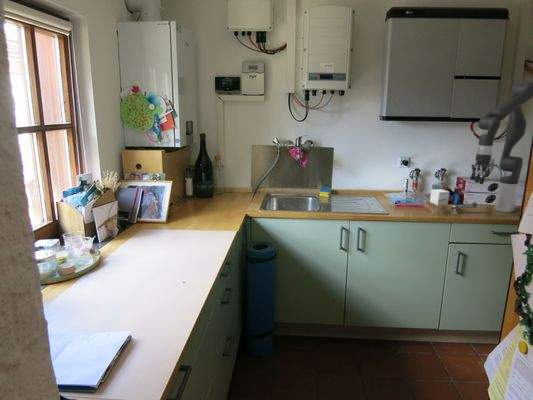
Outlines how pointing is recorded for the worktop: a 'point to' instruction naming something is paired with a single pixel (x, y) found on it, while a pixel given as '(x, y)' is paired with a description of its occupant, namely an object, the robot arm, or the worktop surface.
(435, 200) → the supplement box
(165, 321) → the worktop surface
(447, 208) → the keeper
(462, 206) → the latch bar
